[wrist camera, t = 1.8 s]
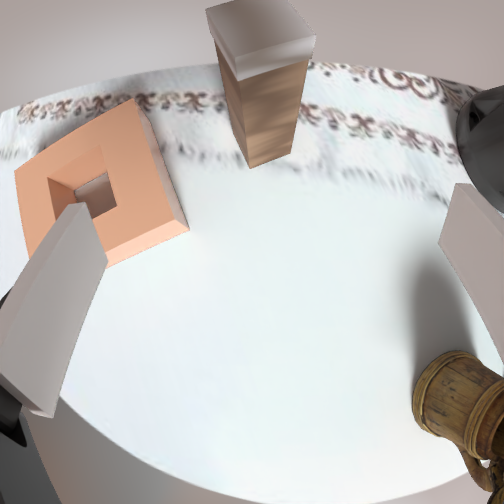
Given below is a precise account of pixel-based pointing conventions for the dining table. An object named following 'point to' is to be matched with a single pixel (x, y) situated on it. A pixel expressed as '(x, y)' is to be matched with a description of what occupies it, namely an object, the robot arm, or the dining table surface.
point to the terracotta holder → (121, 178)
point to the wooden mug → (466, 414)
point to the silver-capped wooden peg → (262, 72)
